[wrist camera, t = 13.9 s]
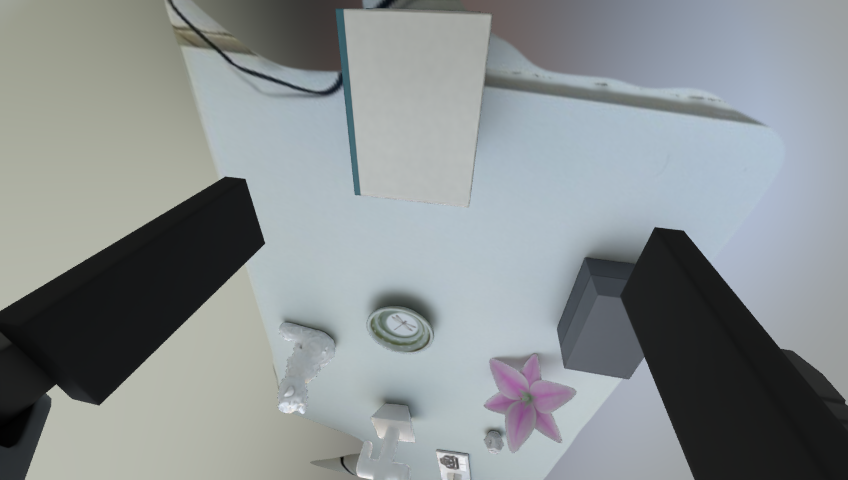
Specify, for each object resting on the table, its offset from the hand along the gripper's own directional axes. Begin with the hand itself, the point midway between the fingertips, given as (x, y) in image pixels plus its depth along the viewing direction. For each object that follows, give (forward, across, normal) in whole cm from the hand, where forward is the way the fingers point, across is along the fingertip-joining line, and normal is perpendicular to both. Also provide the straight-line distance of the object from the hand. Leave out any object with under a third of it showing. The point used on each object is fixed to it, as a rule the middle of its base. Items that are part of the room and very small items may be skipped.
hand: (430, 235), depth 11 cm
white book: (+16, -4, 0) cm, 17 cm away
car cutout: (+23, +4, -77) cm, 80 cm away
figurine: (+23, -8, -57) cm, 62 cm away
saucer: (+23, -7, -31) cm, 39 cm away
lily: (+23, +12, -38) cm, 46 cm away
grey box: (+23, +18, -22) cm, 36 cm away
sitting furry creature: (+23, -22, -39) cm, 50 cm away
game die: (+23, +10, -58) cm, 64 cm away
